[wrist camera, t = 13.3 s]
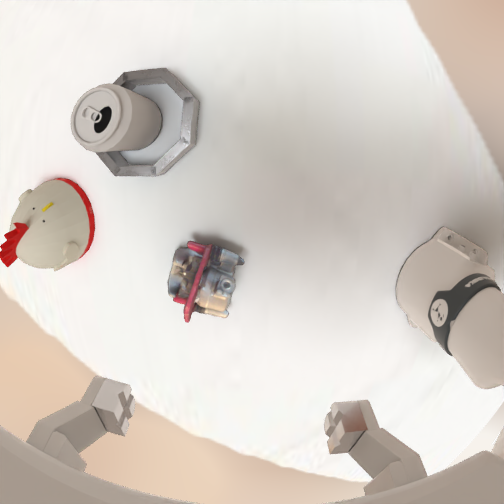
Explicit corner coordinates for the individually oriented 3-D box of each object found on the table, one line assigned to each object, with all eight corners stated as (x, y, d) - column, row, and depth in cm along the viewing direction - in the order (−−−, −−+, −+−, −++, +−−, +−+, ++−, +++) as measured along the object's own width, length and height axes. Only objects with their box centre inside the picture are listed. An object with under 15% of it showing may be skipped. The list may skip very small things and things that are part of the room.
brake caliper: (162, 224, 34) (202, 272, 26) (229, 229, 42) (281, 270, 33) (148, 296, 38) (180, 354, 30) (210, 292, 45) (251, 339, 37)
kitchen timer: (109, 219, 37) (48, 255, 22) (72, 275, 40) (21, 320, 26) (57, 160, 33) (-11, 174, 19) (27, 221, 36) (-31, 250, 22)
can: (147, 159, 34) (103, 164, 22) (106, 138, 32) (55, 138, 21) (173, 110, 31) (138, 93, 20) (130, 91, 30) (85, 72, 19)
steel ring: (203, 74, 30) (198, 66, 26) (193, 175, 34) (187, 177, 31) (109, 81, 29) (97, 76, 26) (102, 173, 34) (89, 176, 31)
